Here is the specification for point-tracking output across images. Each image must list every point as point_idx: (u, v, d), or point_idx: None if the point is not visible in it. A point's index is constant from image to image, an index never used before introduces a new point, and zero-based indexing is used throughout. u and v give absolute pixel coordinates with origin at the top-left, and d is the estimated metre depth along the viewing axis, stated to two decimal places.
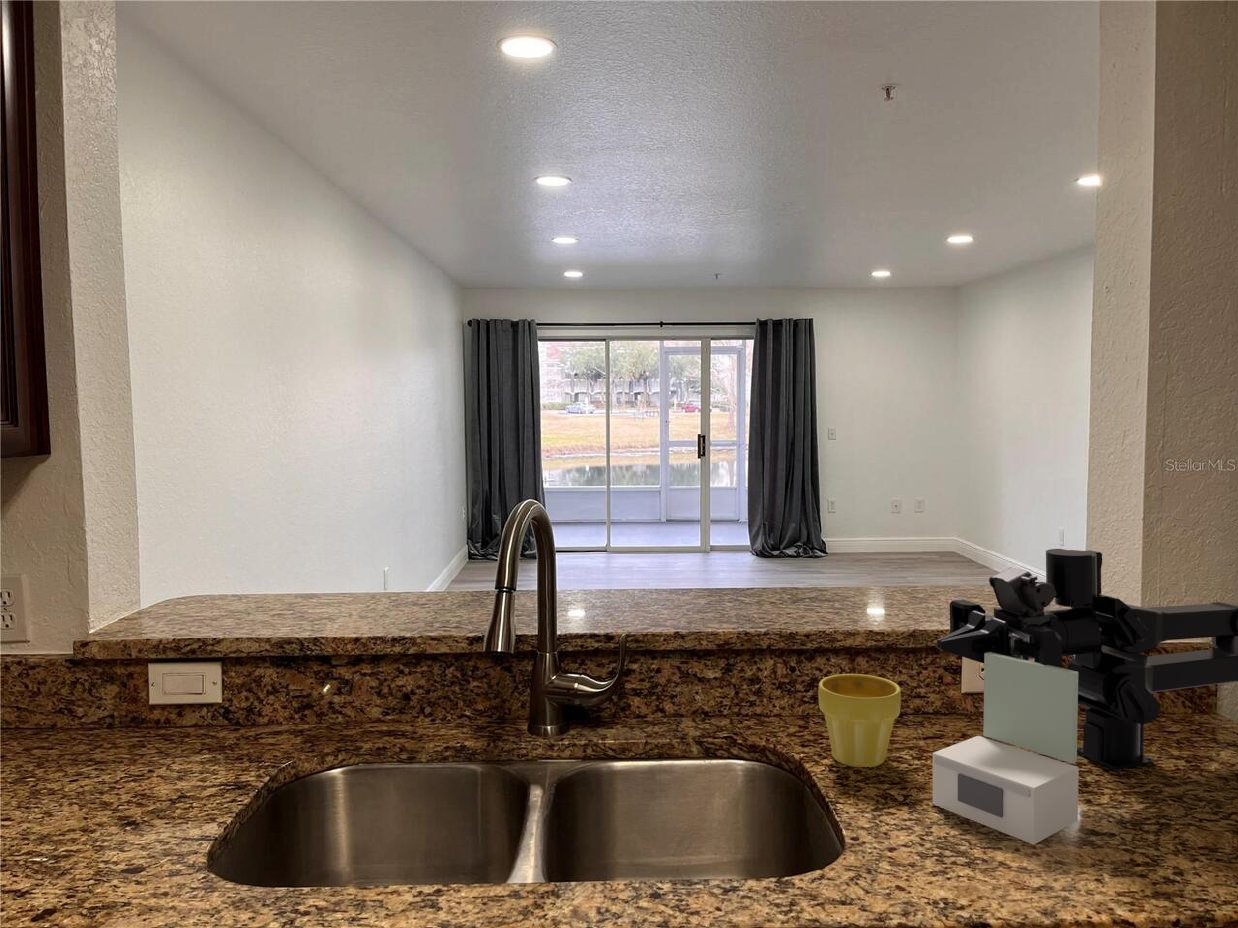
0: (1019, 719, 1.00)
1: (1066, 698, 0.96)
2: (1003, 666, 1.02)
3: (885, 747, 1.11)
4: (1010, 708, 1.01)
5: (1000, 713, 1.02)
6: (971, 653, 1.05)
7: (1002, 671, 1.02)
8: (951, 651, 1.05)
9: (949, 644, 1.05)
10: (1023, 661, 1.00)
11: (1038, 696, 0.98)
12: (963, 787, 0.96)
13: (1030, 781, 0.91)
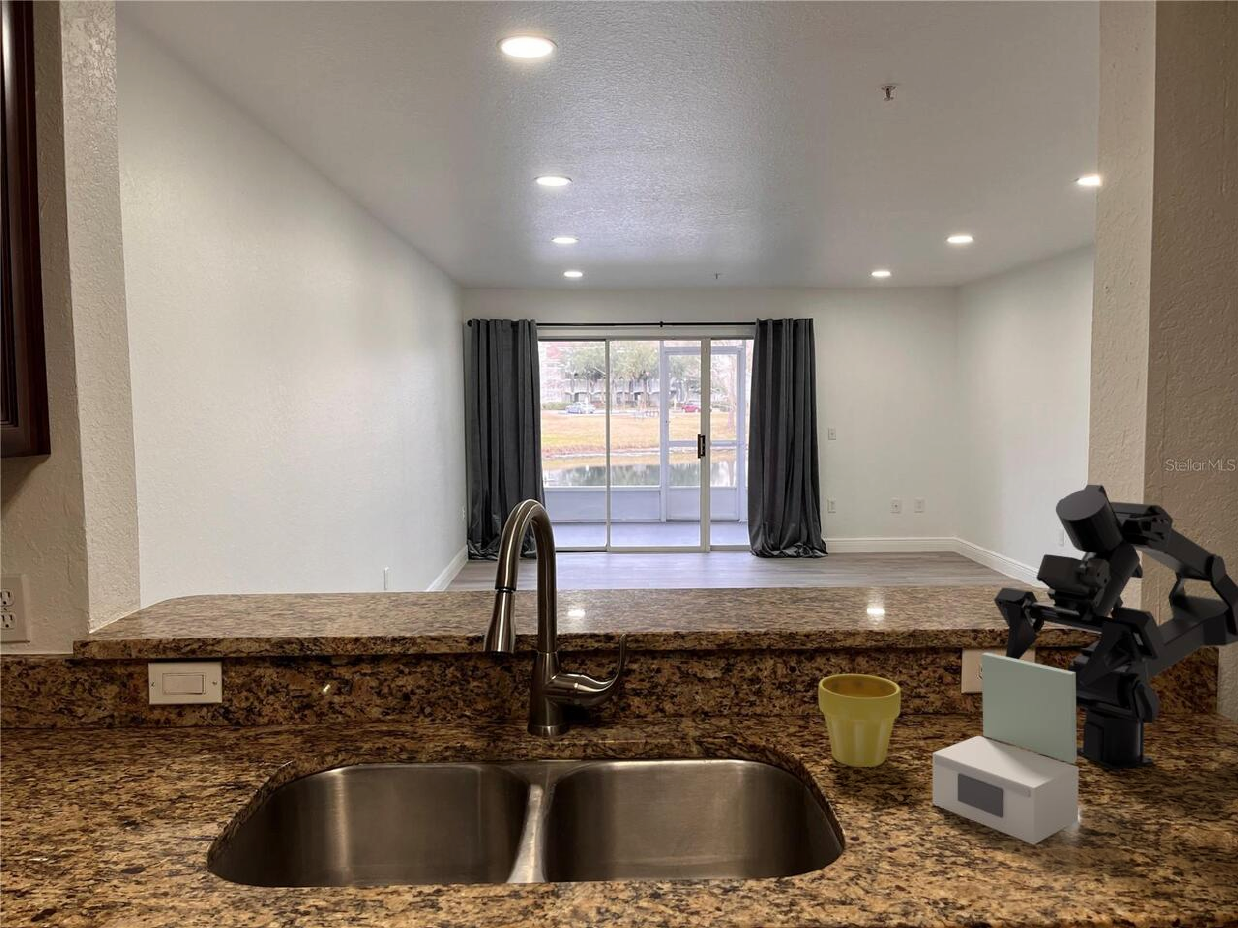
0: (1018, 719, 1.00)
1: (1064, 699, 0.95)
2: (1000, 667, 1.01)
3: (885, 747, 1.11)
4: (1009, 708, 1.01)
5: (999, 713, 1.02)
6: (1107, 667, 1.00)
7: (1000, 672, 1.01)
8: (1092, 679, 0.99)
9: (1088, 676, 0.99)
10: (1020, 662, 1.00)
11: (1036, 697, 0.98)
12: (963, 787, 0.96)
13: (1030, 781, 0.91)
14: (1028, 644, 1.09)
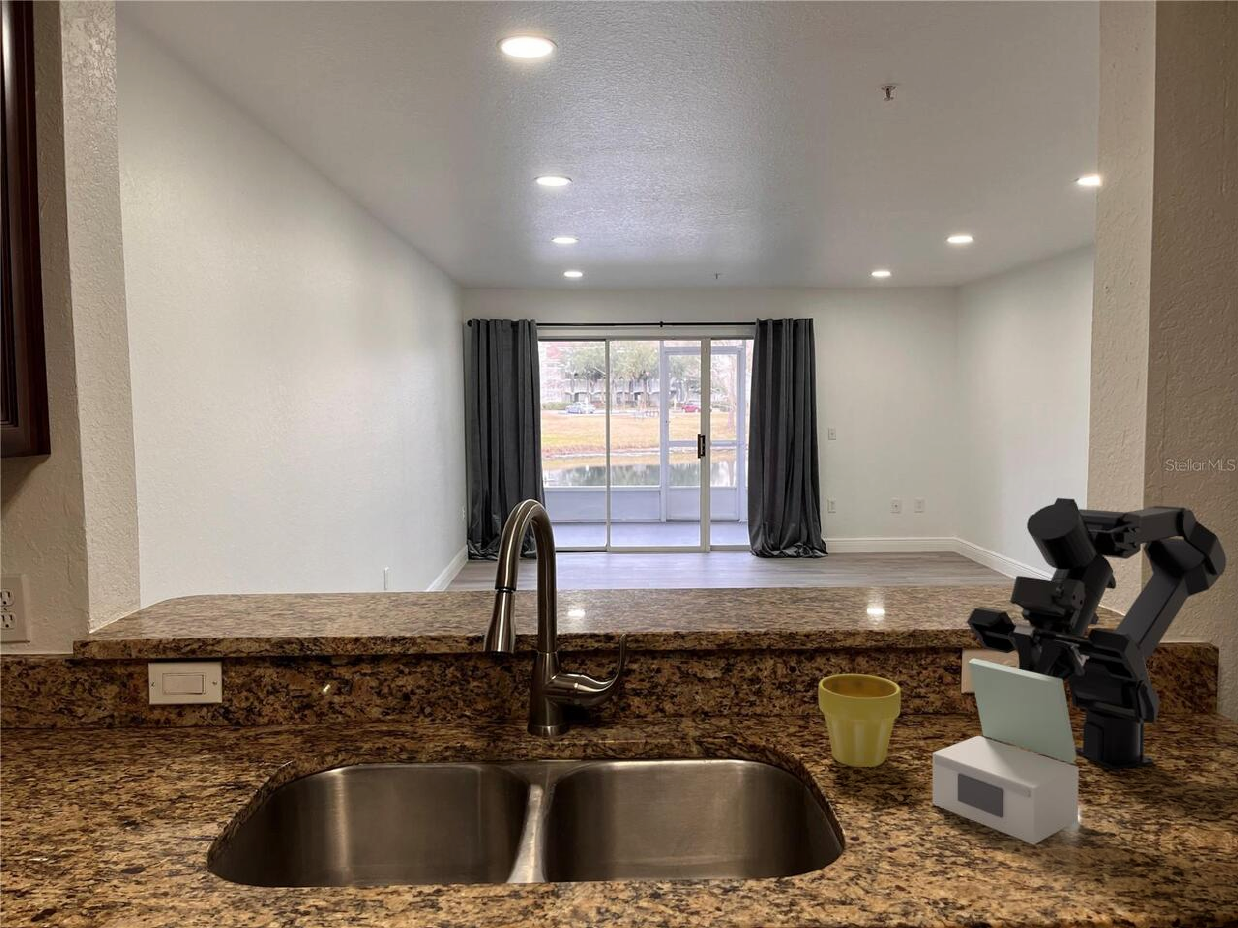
0: (1014, 722, 1.00)
1: (1055, 706, 0.94)
2: (989, 675, 1.00)
3: (885, 747, 1.11)
4: (1003, 712, 1.00)
5: (995, 716, 1.01)
6: None
7: (989, 679, 1.00)
8: None
9: None
10: (1007, 670, 0.98)
11: (1028, 703, 0.97)
12: (963, 787, 0.96)
13: (1030, 781, 0.91)
14: None
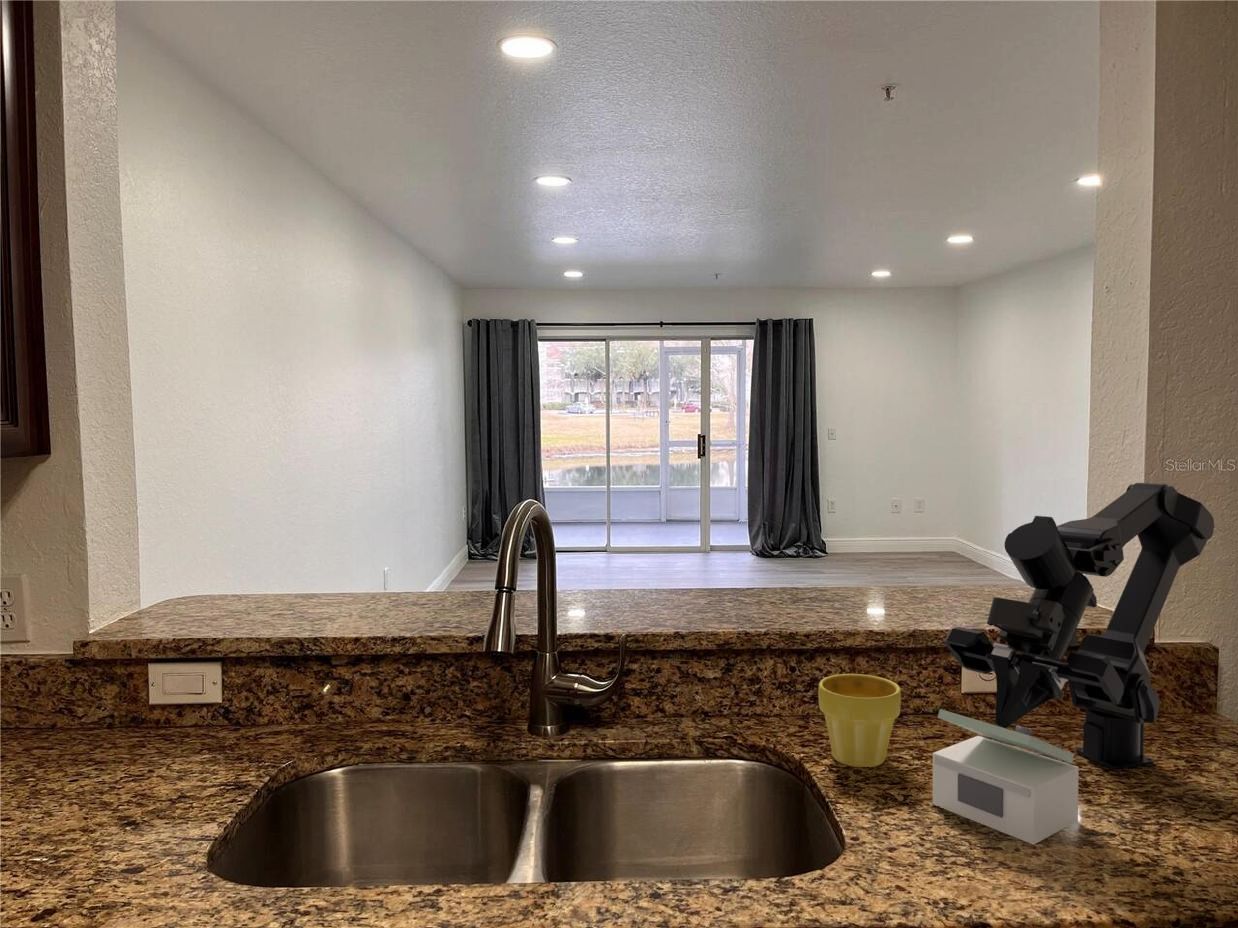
0: (1005, 740, 0.99)
1: (1034, 748, 0.92)
2: (962, 725, 0.97)
3: (885, 747, 1.11)
4: (991, 736, 0.99)
5: (985, 734, 1.00)
6: (1026, 708, 0.97)
7: (963, 726, 0.98)
8: (1012, 722, 0.96)
9: (1008, 719, 0.96)
10: (976, 726, 0.95)
11: (1008, 740, 0.95)
12: (963, 787, 0.96)
13: (1030, 781, 0.91)
14: None
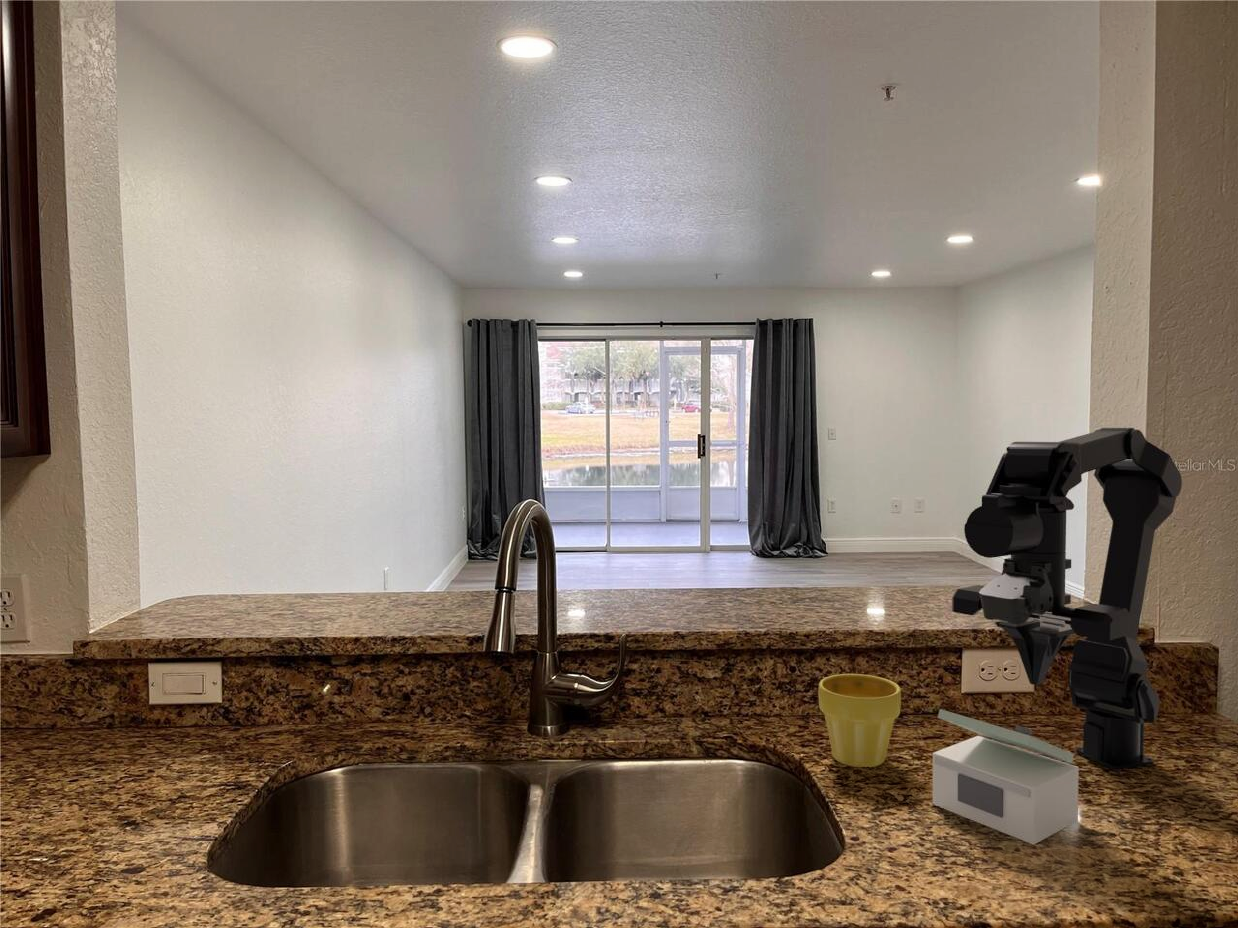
0: (1005, 740, 0.99)
1: (1034, 748, 0.92)
2: (962, 725, 0.97)
3: (885, 747, 1.11)
4: (991, 736, 0.99)
5: (985, 734, 1.00)
6: (1052, 656, 1.00)
7: (963, 726, 0.98)
8: (1045, 674, 1.00)
9: (1040, 677, 1.00)
10: (976, 726, 0.95)
11: (1008, 740, 0.95)
12: (963, 787, 0.96)
13: (1030, 781, 0.91)
14: None
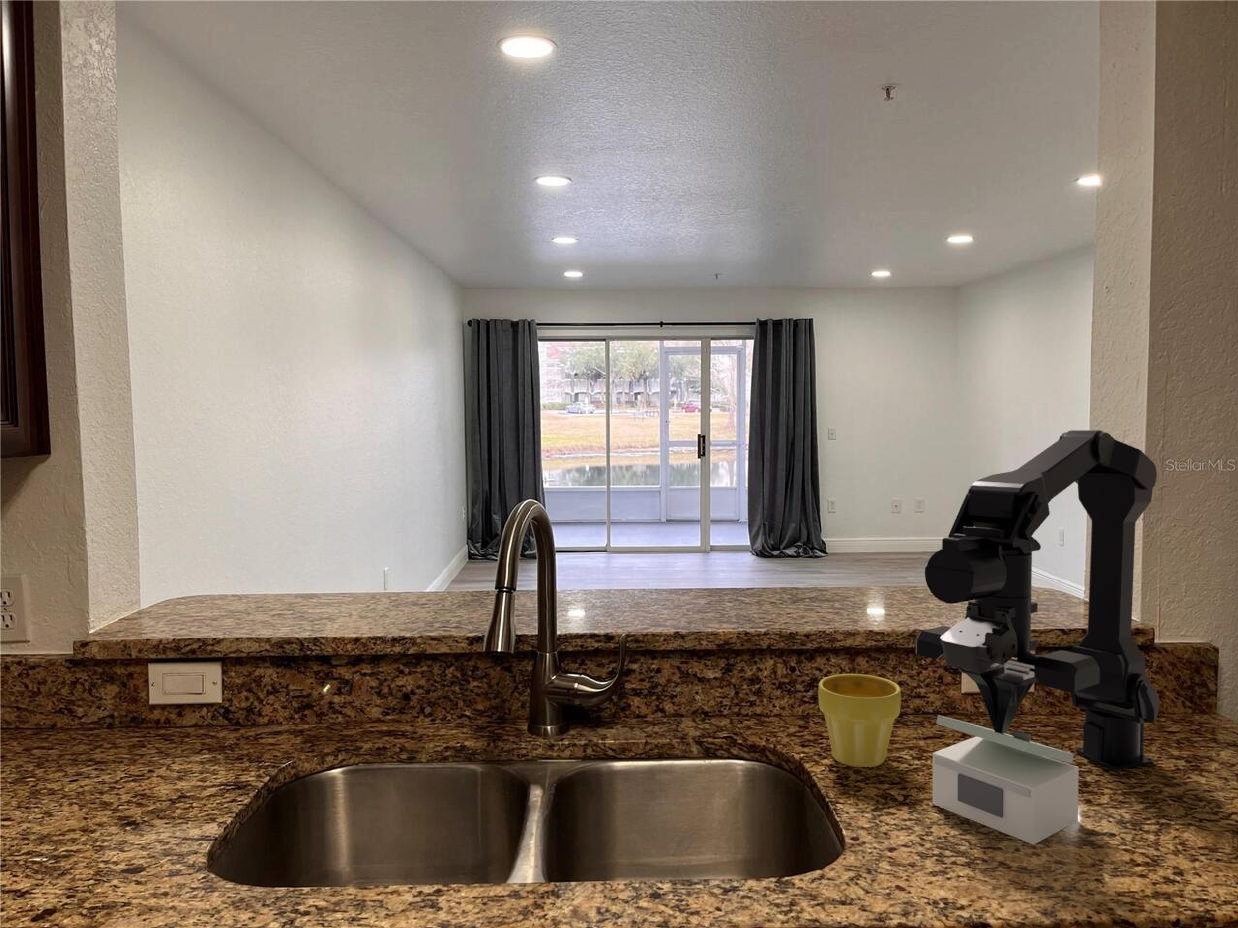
0: None
1: None
2: None
3: (885, 747, 1.11)
4: None
5: None
6: (1017, 704, 0.96)
7: None
8: (1010, 722, 0.96)
9: (1005, 726, 0.96)
10: (974, 733, 0.95)
11: None
12: (963, 787, 0.96)
13: (1030, 781, 0.91)
14: None
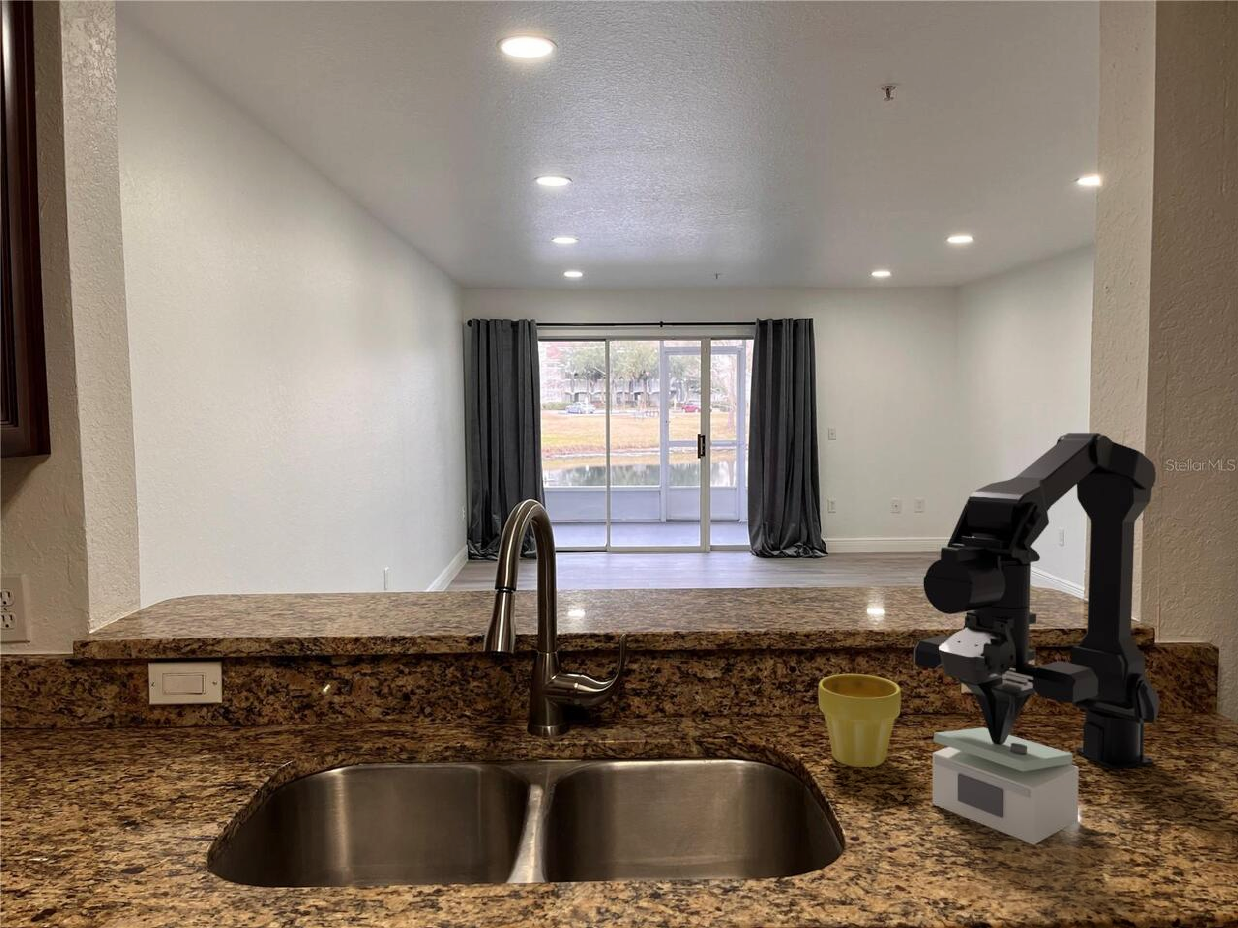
0: None
1: None
2: None
3: (885, 747, 1.11)
4: None
5: None
6: (1015, 714, 0.96)
7: None
8: (1008, 733, 0.96)
9: (1003, 736, 0.96)
10: (971, 751, 0.94)
11: None
12: (963, 787, 0.96)
13: (1030, 781, 0.91)
14: None
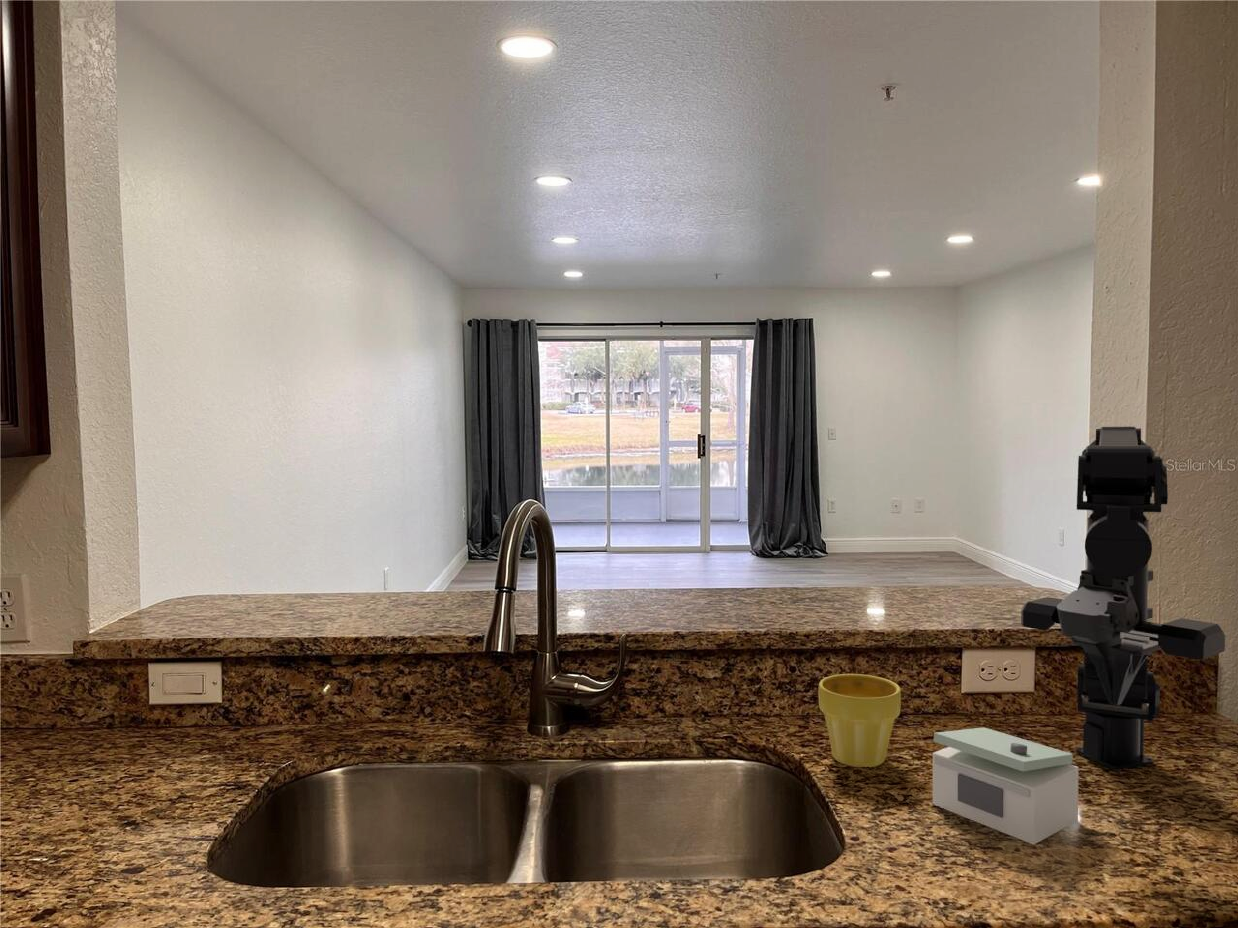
0: None
1: None
2: None
3: (885, 747, 1.11)
4: None
5: None
6: (1133, 674, 0.93)
7: None
8: (1125, 693, 0.94)
9: (1121, 697, 0.94)
10: (971, 751, 0.94)
11: None
12: (963, 787, 0.96)
13: (1030, 781, 0.91)
14: None
